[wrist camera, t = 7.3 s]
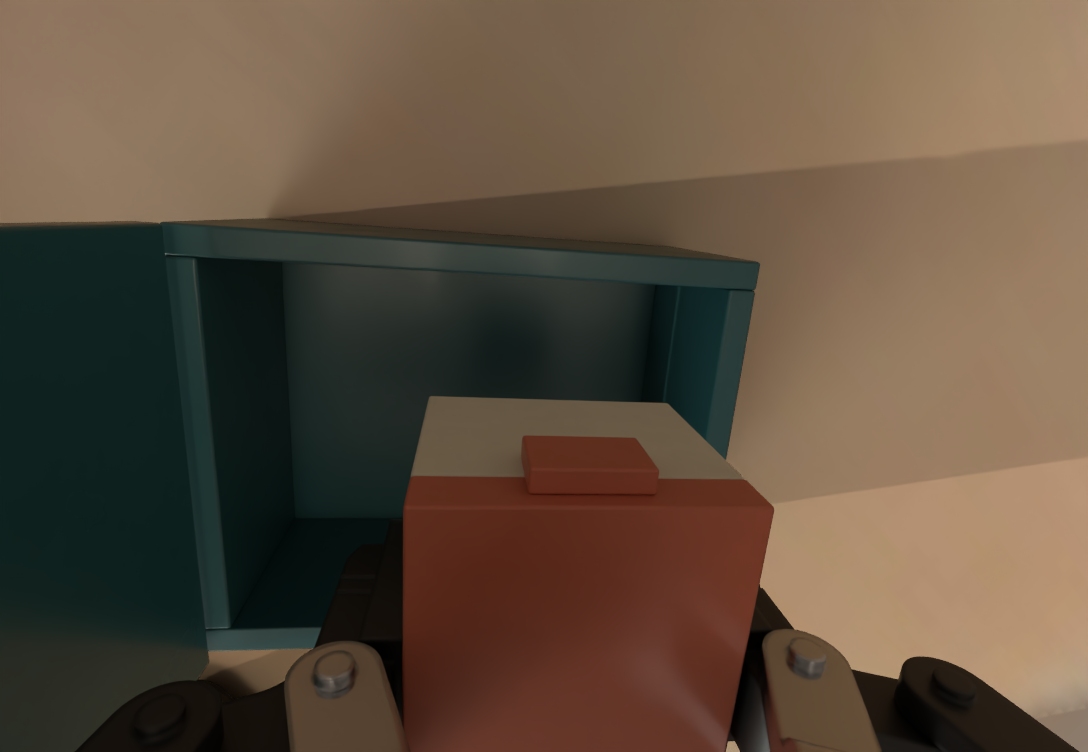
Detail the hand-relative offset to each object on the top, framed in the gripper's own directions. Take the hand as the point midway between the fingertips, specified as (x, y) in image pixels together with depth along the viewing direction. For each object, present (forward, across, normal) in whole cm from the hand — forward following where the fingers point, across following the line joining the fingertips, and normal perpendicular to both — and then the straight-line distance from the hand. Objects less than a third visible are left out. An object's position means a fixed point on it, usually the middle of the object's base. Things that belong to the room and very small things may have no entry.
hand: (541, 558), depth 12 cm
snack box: (0, 0, 0) cm, 0 cm away
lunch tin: (+12, +2, 0) cm, 12 cm away
